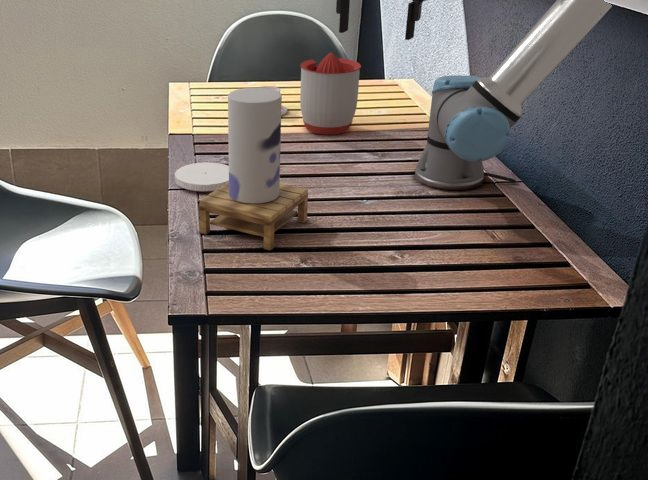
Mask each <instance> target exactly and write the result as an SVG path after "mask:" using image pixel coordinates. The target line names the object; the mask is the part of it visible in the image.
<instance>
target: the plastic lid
mask: <svg viewBox="0 0 648 480" xmlns="http://www.w3.org/2000/svg"><path fill="white" fill-rule="evenodd" d="M228 182H229V165H228V164H224V163H219V162H208V161H207V162H195V163H194V162H193V163H190V164H186V165H184V166H181V167H179V168H178V169H176V170H175V171H174V183H175V185H177V186H178V187H180V188H182V189H185V190H188V191H189V190H190V191H193V192H214V191H215V190H216V191H217V189H218V188H220V187H221V186H223V185H225V184H226V183H228Z"/></svg>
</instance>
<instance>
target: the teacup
mask: <svg viewBox="0 0 648 480" xmlns="http://www.w3.org/2000/svg"><path fill="white" fill-rule="evenodd" d="M256 88H266V89H272V90H275V91H278V92H279V93H281V88H280V87H277V86H274V85H273V86H272V85H265V86H258V87H256ZM287 113H288V108H287V107H286V106H283V105H281V116H285V115H286V114H287Z"/></svg>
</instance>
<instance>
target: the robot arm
mask: <svg viewBox="0 0 648 480" xmlns="http://www.w3.org/2000/svg"><path fill="white" fill-rule="evenodd" d="M425 1H427V0H411V2H409V3H408V4H407V6H408V7H407V15H406V24H405V34H404V35H405V37H404V40H405V41H410V40H412V39H413V38H414V37H415V28H416V22H419V21H420V20H421V18H422V9H423V2H425ZM335 3H336V4H335V12H336V14H337V15H339V23H338V24H339V25H338V33H341V34H343V33H345V32H347V31H349V22H350V21H349V20H350V6H351V4H350V3H351V0H336V2H335ZM612 7H613V6H612V5H611V4H609V3H606V2H605V1H604V0H555V2H554V3H553V4H552V5H551V6H550V7H549V9H547V11H546V12H545V13H544V14H543V15H542V16H541V17H540V18H539V20H538V21H537V22H536V23H535V24H534V26H533V27H532V28H531V29H530V30H529V31H528V32H527V33H526V34H525V36H524V37H523V38H522V39H521V41H520V42H518V44H516V46H515V47H514V48H513V49H512V51H511V52H509V54H508V55H507V56H506V57H505V59H504V60H502V62H501V63H500V64H499V65H498V66H497V68H496V69H495V70H494V71H493V72H492V73H491V74H490V75H489V76H488V77H483V76H476V75H457V74H456V75H444V76H443V75H442V76H440V77H437V78H436V79H435V80H434V83H433V88H432V90H431V94H432V95H431V102H430V111H429V120H428V129H427V138H426V143H425V145H424V146H425V147H424V148H423V151H422V153H421V155H420V157H419V159H418V161H417V163H416V166H415V170H414V177H415V179H416V180H417V182H419V183H421V184H422V185H425V186H428V187H431V188H434V189H439V190H445V191H465V190H470V189H474V188H477V187H479V186H481V185H483V182H484V178H485V177H489V178H494V179H498V180H502V181H507V182H510V183H513V184H515V183H516V182H517V181H516V180H517V179H515V178H511V177H508V176H503V175H499V174H496V173H495V174H494V173H491V172H485V169H484V164H483V162H486V161H489V160H491V159H493V158H494V157H497V155H499V154H500V153H501V152H502V151H503V150H504V149H505V148H506V146H507V144H508V142H509V140H510V135H511V129H512V128H513V126H514V125H515V124H517V122H518V121H519V120H520V119H521V118H522V116H523V105H524V103H525V102H526V101H527V100H528V99H529V98H530V96H532V94H533V93H534V92H535V91H537V89H538V88H539V87H540V86H541V85H542V83H543V82H544V81H545V80H546V79H547V78H548V77H549V76H550V75H551V74H552V72H553V71H555V69H556V68H557V67H558V66H559V65H560V64H561V63H562V62H563V61H564V60H565V59H566V58H567V56H568V55H569V54H570V53H571V52H572V51H573V50H574V49H575V48H576V46H578V45H579V43H580V42H581V41H582V40H583V39H584V38H585V37H586V35H588V34H589V32H590V31H591V30H592V29H593V28H594V27H595V26H596V25H597V24H598V22H599V21H600V20H601V19H603V17H604V16H605V15H606V14H607V13H608V12H609V11H610V10H611V8H612Z"/></svg>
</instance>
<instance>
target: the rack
mask: <svg viewBox="0 0 648 480" xmlns="http://www.w3.org/2000/svg"><path fill="white" fill-rule="evenodd" d="M308 201H309V189H308V188H304V187H299V186H295V185H289V184H285V183H280V189H279V196H278V197H277V198H276V199H275V200H272V201H270V202H266V203H257V204H251V203H243V202H239V201H236V200H234V199H232V198H231V197H230V195H229V182H228V183H226V184H225V185H223V186H221V187H220V188H218V189H217V190H215V191H211V192H210V193H209V194H208V195H205V196H204V197H202V198H201V199H199V205H198V214H199V234H202V235H208V234H209V233H211V225H212V226H217V227H220V228H225V229H229V230H234V231H237V232H241V233H245V234H249V235H254V236H257V237H262V238H263V250H267V251H272V250H273V249H274V248H275V232H276V231H278V230H279V229H280V228H282V227H283V226H284V225H286V224H287V223H289V221H291V220H292V219H293V218H295V216H297V221H296V222H298V223H302V224H304V223H306V222H307V221H308V203H309V202H308ZM296 208H297V211H296V210H294V209H296ZM211 214H214V215H217V216H216V217H215V218H213V219H211V216H210V215H211Z"/></svg>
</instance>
